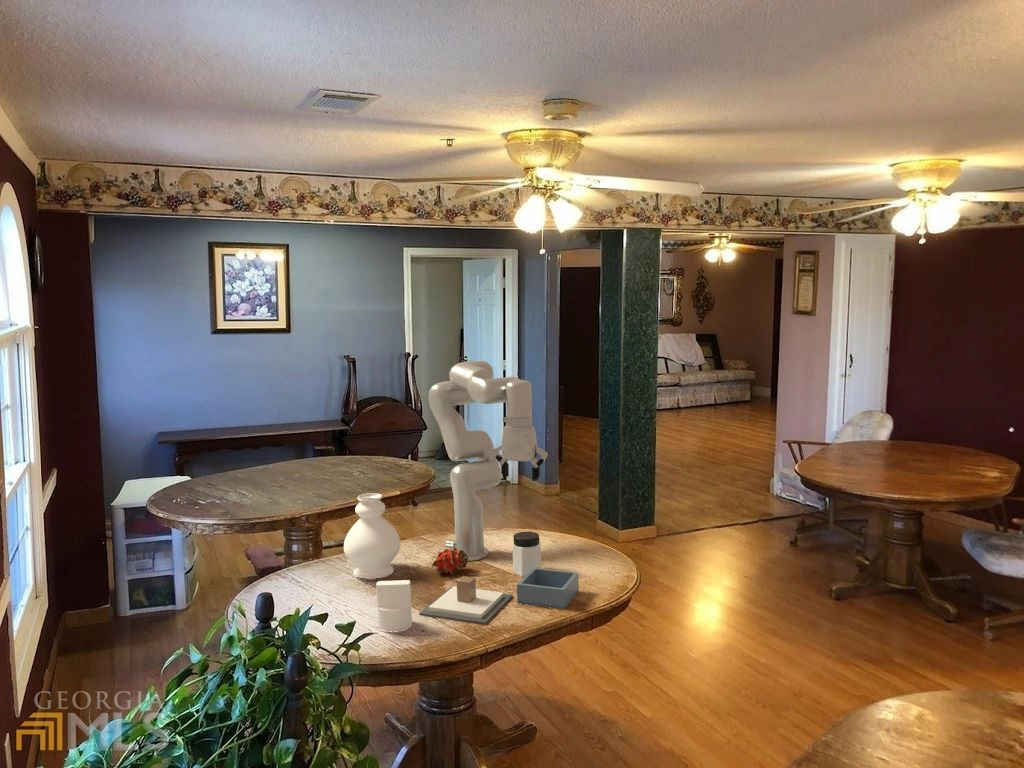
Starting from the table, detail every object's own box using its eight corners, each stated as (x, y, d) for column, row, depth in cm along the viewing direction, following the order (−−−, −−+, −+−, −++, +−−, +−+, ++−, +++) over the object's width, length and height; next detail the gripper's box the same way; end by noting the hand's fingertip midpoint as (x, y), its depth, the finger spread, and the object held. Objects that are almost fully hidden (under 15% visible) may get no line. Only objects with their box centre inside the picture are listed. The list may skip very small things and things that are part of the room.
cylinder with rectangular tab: (413, 617, 217) (411, 575, 215) (410, 632, 208) (408, 588, 206) (380, 619, 217) (378, 577, 215) (376, 633, 208) (373, 589, 206)
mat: (419, 615, 218) (419, 612, 218) (451, 588, 237) (450, 586, 237) (485, 624, 211) (485, 622, 211) (512, 596, 230) (512, 594, 229)
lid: (428, 611, 219) (427, 586, 219) (453, 590, 234) (453, 566, 233) (481, 618, 214) (480, 593, 213) (503, 596, 228) (502, 572, 227)
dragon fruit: (472, 575, 252) (436, 586, 248) (463, 553, 258) (428, 564, 254) (472, 560, 246) (435, 571, 242) (464, 538, 252) (427, 548, 248)
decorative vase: (407, 577, 248) (404, 499, 244) (350, 586, 241) (346, 506, 238) (394, 559, 264) (391, 486, 261) (340, 567, 258) (336, 493, 254)
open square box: (517, 604, 225) (516, 584, 224) (534, 586, 238) (533, 567, 237) (564, 610, 220) (563, 590, 219) (578, 592, 233) (578, 572, 232)
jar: (546, 572, 248) (545, 535, 247) (526, 579, 243) (525, 541, 242) (527, 565, 255) (527, 529, 254) (508, 571, 250) (507, 534, 248)
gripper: (487, 422, 233) (488, 479, 235) (542, 426, 226) (542, 484, 228) (498, 418, 240) (499, 473, 242) (551, 421, 233) (552, 478, 235)
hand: (520, 478), depth 235 cm, fingers open, 9 cm apart
